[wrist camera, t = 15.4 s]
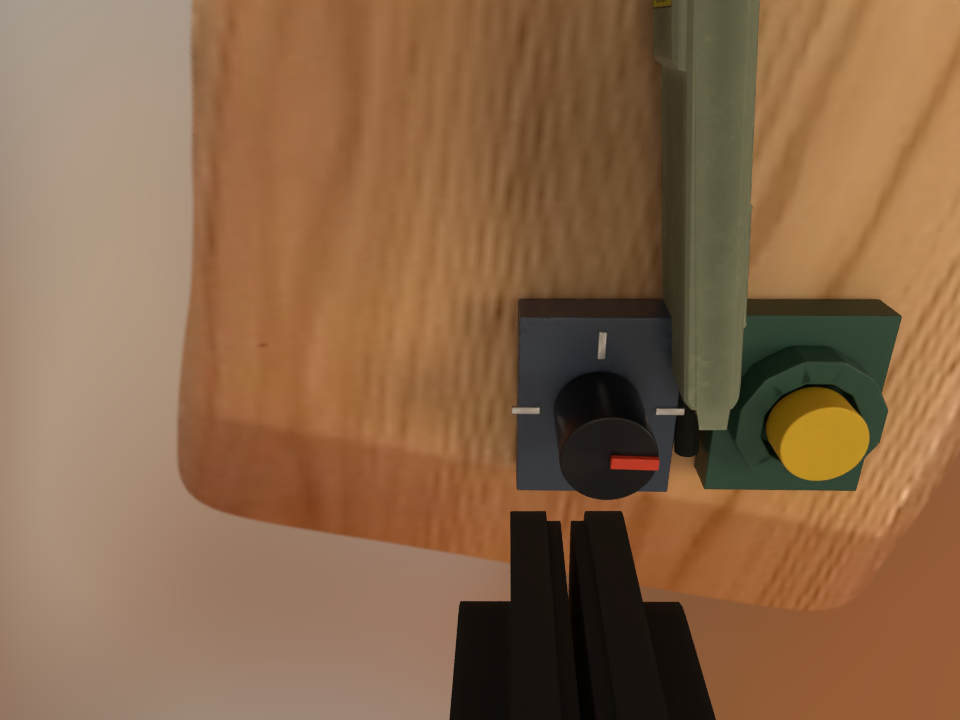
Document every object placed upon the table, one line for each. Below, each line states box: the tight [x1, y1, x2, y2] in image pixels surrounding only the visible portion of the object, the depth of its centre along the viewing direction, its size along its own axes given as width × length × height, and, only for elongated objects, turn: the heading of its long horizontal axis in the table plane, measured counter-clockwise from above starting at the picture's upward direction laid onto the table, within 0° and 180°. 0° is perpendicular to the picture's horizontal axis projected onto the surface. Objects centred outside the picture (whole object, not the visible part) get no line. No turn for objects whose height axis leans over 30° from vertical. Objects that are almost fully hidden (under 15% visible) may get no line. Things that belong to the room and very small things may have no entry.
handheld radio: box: [653, 0, 760, 457], centre depth 31 cm, size 7×3×25 cm
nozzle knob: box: [554, 372, 660, 500], centre depth 33 cm, size 4×4×5 cm
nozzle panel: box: [512, 300, 685, 492], centre depth 37 cm, size 10×9×3 cm
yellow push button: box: [766, 387, 869, 481], centre depth 33 cm, size 4×4×2 cm
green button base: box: [695, 300, 902, 491], centre depth 36 cm, size 10×8×4 cm
